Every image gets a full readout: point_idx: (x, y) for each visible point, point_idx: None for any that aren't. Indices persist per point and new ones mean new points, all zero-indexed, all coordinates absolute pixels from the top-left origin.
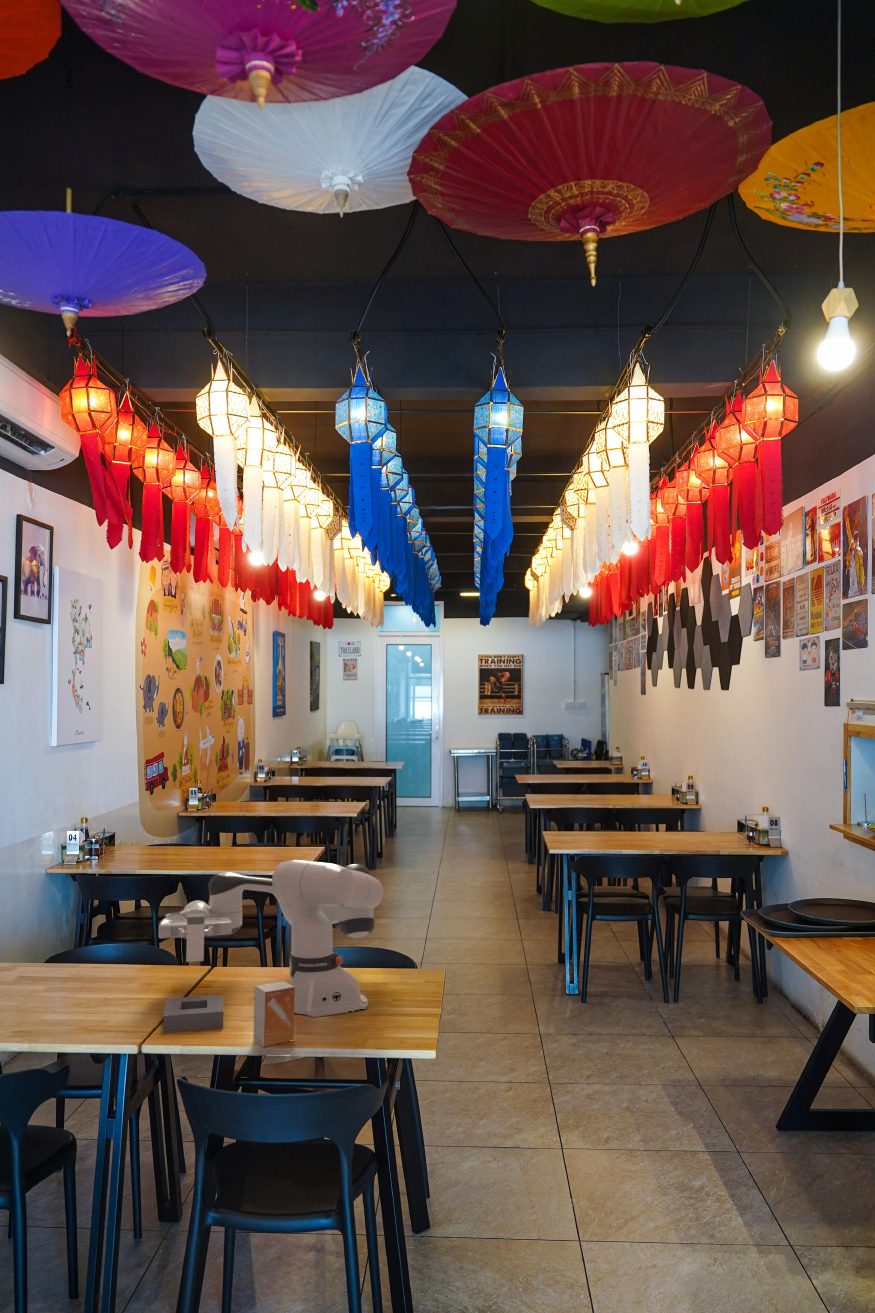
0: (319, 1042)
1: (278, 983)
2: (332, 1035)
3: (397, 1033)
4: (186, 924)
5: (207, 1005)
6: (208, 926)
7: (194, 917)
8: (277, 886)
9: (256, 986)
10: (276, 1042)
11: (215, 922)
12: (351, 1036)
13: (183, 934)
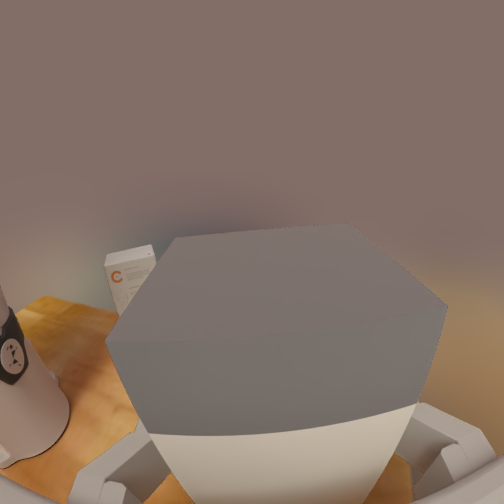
0: (103, 315)
1: (117, 259)
2: (79, 326)
3: (31, 318)
4: (439, 499)
5: None
6: (121, 498)
7: (277, 231)
8: None
9: (153, 252)
10: None
11: (20, 499)
12: (66, 321)
13: None
